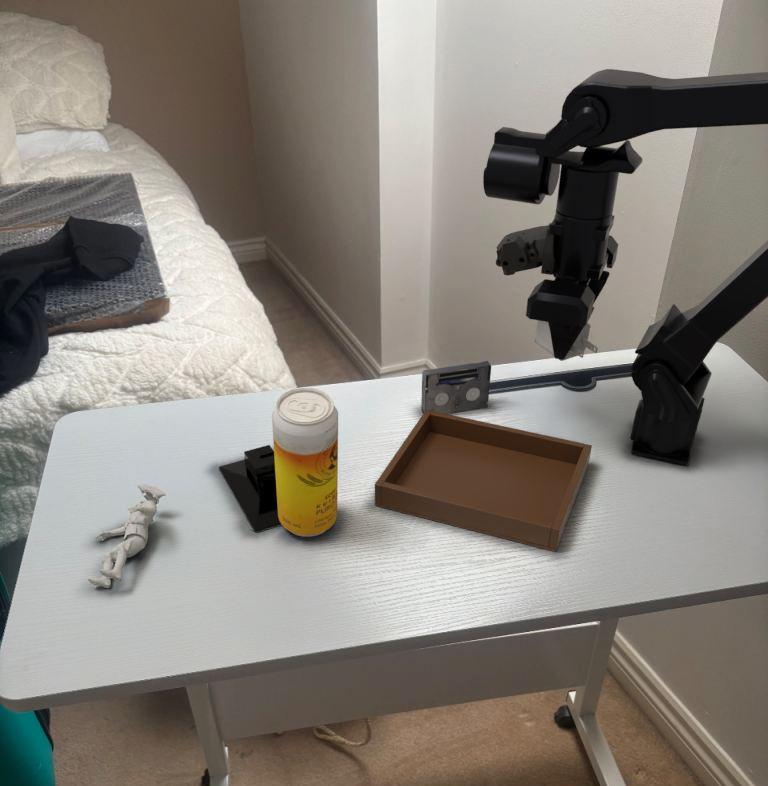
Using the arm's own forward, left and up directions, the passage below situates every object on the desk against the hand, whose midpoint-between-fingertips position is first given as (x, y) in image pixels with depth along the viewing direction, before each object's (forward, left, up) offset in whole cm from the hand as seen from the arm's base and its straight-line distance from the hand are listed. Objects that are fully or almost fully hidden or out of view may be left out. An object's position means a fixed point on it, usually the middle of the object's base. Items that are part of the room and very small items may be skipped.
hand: (564, 346), depth 95 cm
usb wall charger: (0, +1, -1) cm, 1 cm away
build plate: (+26, +26, -10) cm, 38 cm away
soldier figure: (+33, +39, -10) cm, 53 cm away
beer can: (+19, +29, -10) cm, 36 cm away
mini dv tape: (+12, +3, -10) cm, 16 cm away
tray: (+4, +16, -10) cm, 19 cm away
